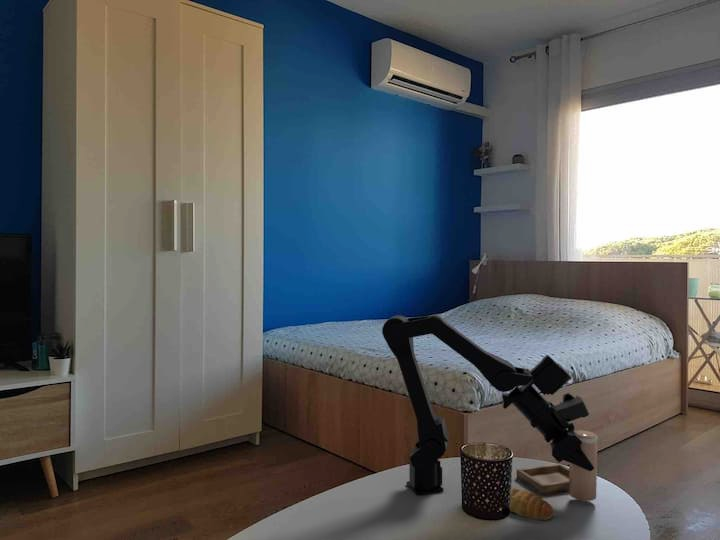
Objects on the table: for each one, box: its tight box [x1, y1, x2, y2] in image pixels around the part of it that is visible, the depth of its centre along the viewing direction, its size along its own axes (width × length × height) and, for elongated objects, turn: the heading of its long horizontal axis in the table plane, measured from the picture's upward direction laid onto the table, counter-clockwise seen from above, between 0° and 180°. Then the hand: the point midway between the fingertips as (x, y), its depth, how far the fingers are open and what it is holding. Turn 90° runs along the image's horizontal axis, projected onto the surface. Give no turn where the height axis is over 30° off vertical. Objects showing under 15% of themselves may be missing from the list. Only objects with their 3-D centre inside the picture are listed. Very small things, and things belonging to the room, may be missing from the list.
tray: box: [516, 463, 569, 496], centre depth 129 cm, size 12×10×2 cm
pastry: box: [509, 488, 555, 521], centre depth 115 cm, size 9×7×4 cm
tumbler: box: [568, 429, 599, 502], centre depth 119 cm, size 6×6×13 cm
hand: (589, 464), depth 119 cm, fingers closed on tumbler, 5 cm apart
